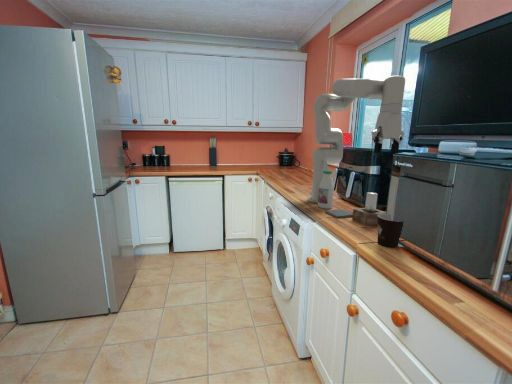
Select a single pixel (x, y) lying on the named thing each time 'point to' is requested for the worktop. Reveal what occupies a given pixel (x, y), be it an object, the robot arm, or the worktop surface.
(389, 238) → the coffee mug
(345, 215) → the rubber mat
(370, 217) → the open square box
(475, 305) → the worktop surface
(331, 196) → the milk bottle
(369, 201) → the steel pin
